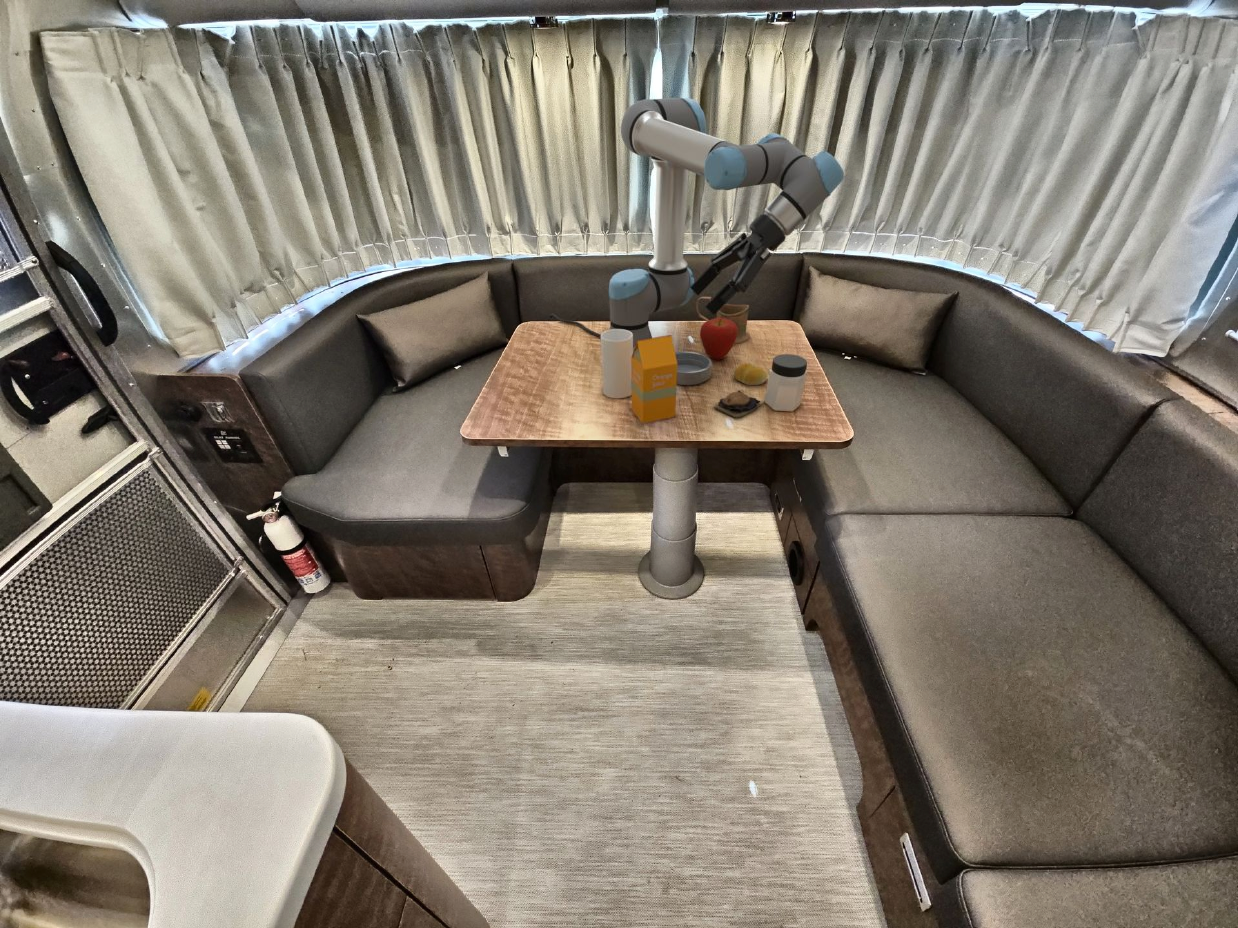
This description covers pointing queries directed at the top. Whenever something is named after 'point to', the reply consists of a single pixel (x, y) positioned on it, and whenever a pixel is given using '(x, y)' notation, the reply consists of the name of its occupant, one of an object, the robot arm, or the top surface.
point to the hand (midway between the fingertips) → (701, 300)
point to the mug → (732, 317)
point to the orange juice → (654, 379)
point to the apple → (718, 337)
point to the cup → (616, 362)
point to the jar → (786, 382)
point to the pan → (692, 368)
